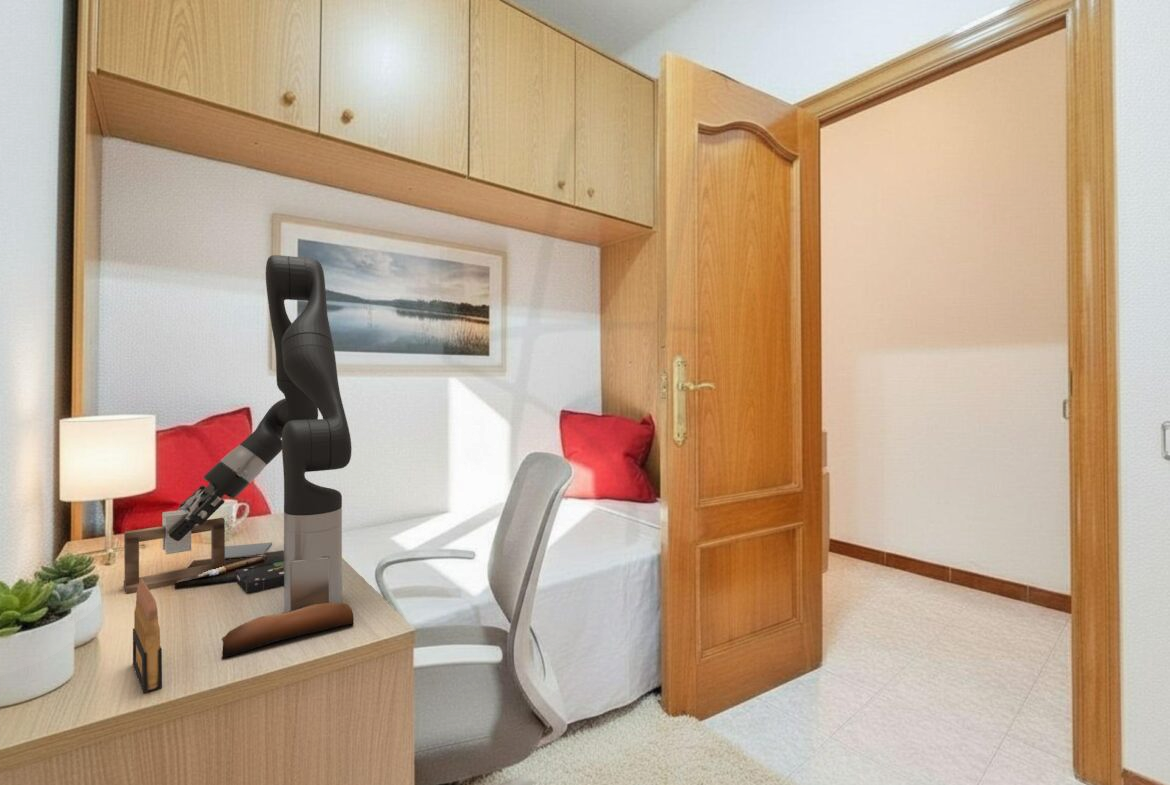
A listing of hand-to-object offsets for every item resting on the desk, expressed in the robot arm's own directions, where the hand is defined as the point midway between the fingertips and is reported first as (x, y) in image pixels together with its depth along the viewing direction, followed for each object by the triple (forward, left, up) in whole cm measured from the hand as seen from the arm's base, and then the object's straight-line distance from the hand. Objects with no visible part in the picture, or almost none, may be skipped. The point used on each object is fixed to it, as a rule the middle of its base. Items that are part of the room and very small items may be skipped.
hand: (169, 534), depth 108 cm
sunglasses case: (-34, -27, -10) cm, 44 cm away
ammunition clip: (-42, -11, -10) cm, 44 cm away
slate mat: (+16, -9, -9) cm, 21 cm away
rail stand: (0, -1, -9) cm, 9 cm away
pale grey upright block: (0, -1, -3) cm, 4 cm away
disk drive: (-6, -21, -10) cm, 24 cm away
